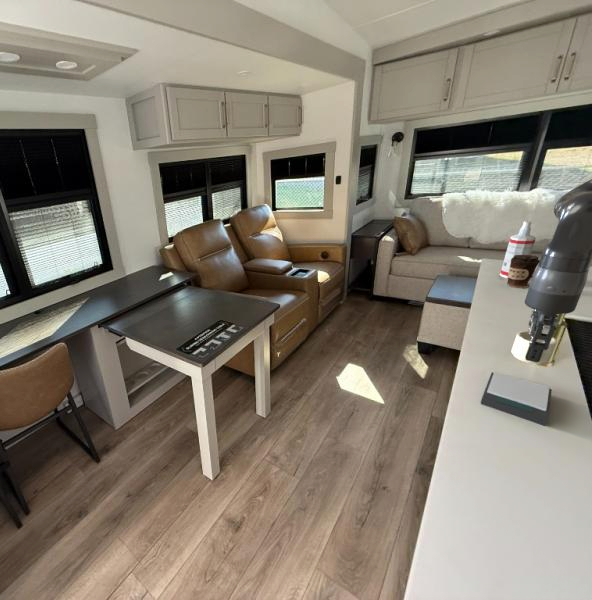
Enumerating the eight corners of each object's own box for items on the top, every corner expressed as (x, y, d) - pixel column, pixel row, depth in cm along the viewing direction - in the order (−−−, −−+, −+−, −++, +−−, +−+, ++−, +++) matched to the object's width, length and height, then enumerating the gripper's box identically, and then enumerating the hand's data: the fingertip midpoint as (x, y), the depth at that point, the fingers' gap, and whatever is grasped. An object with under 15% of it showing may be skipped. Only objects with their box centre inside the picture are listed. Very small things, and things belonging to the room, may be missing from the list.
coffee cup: (524, 290, 131) (533, 260, 126) (499, 285, 138) (507, 256, 133) (535, 285, 134) (545, 256, 129) (510, 280, 141) (518, 252, 136)
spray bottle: (498, 277, 146) (514, 222, 136) (500, 272, 150) (516, 219, 140) (522, 279, 140) (540, 223, 130) (524, 275, 145) (541, 220, 135)
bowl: (522, 348, 78) (529, 328, 76) (556, 361, 72) (564, 340, 70) (503, 354, 76) (510, 334, 74) (537, 368, 71) (545, 347, 69)
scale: (489, 378, 86) (492, 369, 85) (549, 396, 78) (552, 386, 77) (480, 403, 78) (483, 394, 77) (544, 426, 71) (549, 416, 69)
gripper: (587, 302, 60) (557, 374, 67) (578, 279, 70) (552, 344, 76) (531, 295, 65) (508, 363, 72) (529, 274, 74) (509, 336, 81)
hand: (531, 353), depth 74 cm, fingers closed on bowl, 6 cm apart
